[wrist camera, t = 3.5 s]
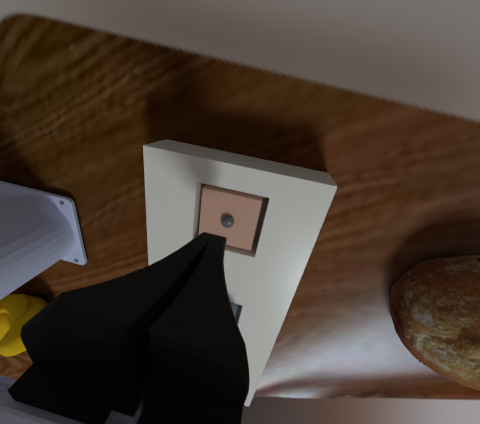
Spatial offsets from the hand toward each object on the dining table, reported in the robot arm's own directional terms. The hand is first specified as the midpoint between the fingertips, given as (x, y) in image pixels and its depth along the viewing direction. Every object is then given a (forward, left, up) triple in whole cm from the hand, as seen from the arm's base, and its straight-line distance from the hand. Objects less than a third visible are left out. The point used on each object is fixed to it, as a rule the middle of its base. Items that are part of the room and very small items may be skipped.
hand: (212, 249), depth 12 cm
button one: (0, 0, -6) cm, 6 cm away
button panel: (0, -10, -6) cm, 12 cm away
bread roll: (+19, -4, -7) cm, 21 cm away
